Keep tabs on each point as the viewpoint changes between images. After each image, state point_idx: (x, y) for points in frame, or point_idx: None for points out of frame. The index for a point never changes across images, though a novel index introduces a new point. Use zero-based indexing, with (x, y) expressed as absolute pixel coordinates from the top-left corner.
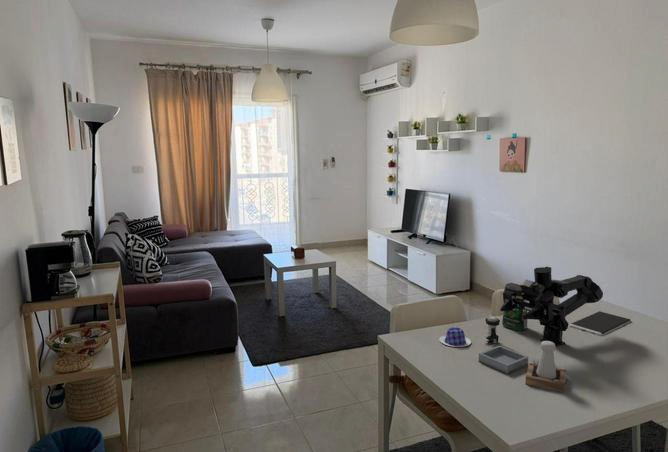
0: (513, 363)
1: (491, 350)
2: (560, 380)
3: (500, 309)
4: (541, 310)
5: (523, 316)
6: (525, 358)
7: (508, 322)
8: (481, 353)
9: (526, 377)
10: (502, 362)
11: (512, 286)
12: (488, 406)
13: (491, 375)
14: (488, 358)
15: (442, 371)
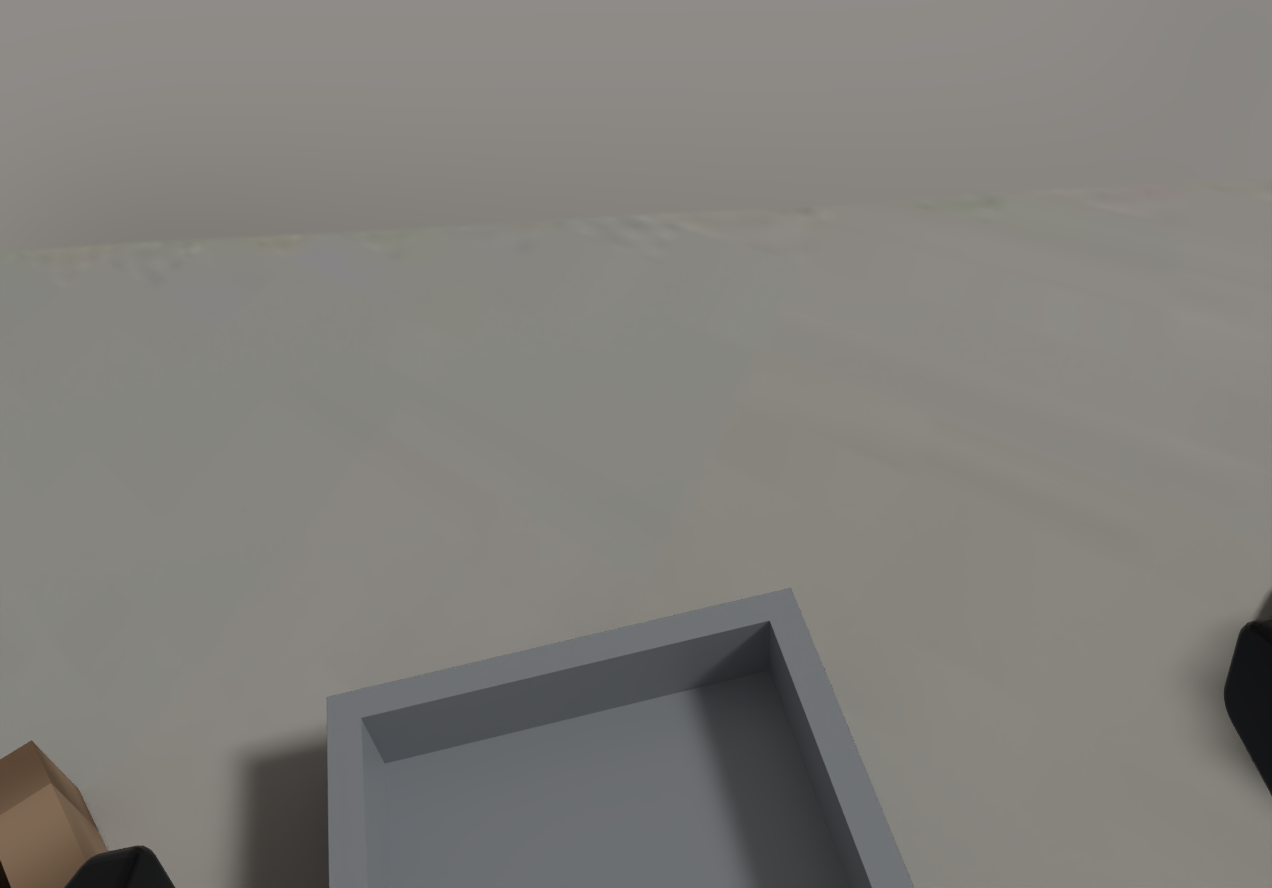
0: (328, 819)
1: (844, 818)
2: None
3: (1266, 636)
4: None
5: (105, 855)
6: None
7: None
8: (779, 616)
9: (27, 751)
10: (432, 697)
11: None
12: (119, 332)
13: (441, 592)
14: (635, 633)
15: (712, 298)
